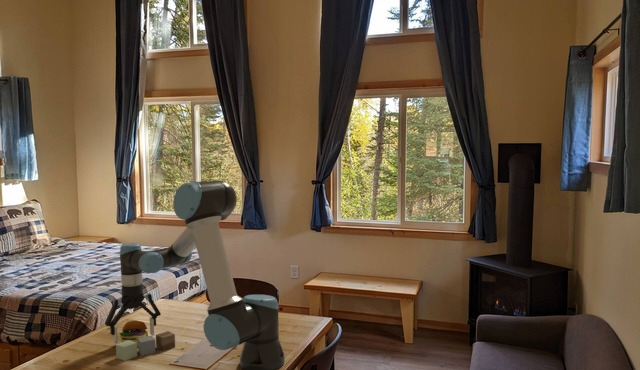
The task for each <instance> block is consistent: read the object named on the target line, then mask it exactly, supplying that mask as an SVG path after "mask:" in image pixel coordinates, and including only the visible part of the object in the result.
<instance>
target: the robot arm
mask: <svg viewBox="0 0 640 370" xmlns="http://www.w3.org/2000/svg"><path fill="white" fill-rule="evenodd" d="M237 201H238V198H237V192H236V190H235V188H234V187H233V186H232V185H231V184H229V182H228V183H227V182H226V181H223V180H211V181H210V180H209V181H208V180H204V181H191V182H186V183H185V182H184V183H183V184H181V185H179V187H178V188H177V189H176V191H175V193H174V197H173V200H172V206H173V211H174V213H175V215H176V217H177V218H178V219H180V220H183V221H184V223H185V226H186V227H185V229H184V230H183V232H182V233H181V234H180V235H179V236H178V237H177V238H176V239H175V241H174V242H173V243H172V244H171V245H170V246H168V247H163V248H157V249H151V250H147V251H146V250H142V247H141V246H142V245H141V244H140V243H137V242H136V243H135V242H134V243H133V242H132V243H131V242H130V243H124V244H122V245H121V246H120V248H119V250H120V251H119V253H120V254H119V261H120V277H121V282H120V283H121V298H120V299H116V298H113V300H112V305H111V308H110V310H109V312H108V315H107V317H106V320H105V321H104V325H105V326H106V327H110V329H109V330H110V335H111V336H113V343H114V344H115V345H116V344H119V341H118V339H119V338H118V326H117V324H118V322H119V321H120V319H121V318H122V317H123V315H124V314H125V312H127V310H132V309H138V308H139V307H140V308H142V309H143V310H144V311H145V312H146V313H147V314H148V315H149V316H150V317H149V334H150V336H151V335H152V336H155V327H156V326H157V319H158V317H159V316H161V310H159V308H158V306H157V305H156V303H155V302H154V299H153V297H152V296H153V295H152V294H151V293H150V292H147V293H146V294H144V290H143V289H144V288H143V287H144V286H143V273H146V274H156V273H158V272H159V271H161V270H162V269H166V268H171V267H172V268H173V267H176V266H182V265H184V264H186V263H187V264H188V263H189V262H190V261H191V260H192V255H193V254H192V253H193V251H194V250H195V249H196V251H197V255H198V258H199V263H200V267H201V270H202V275H203V278H204V282H205V286H206V290H207V294H208V298H209V305H208V307H207V309H206V311H207V316H206V318H205V319H204V322H203V333H204V336H205V337H206V339H207V341H208V343H209V344H210V345H211V346H213V347H214V348H215V349H217V350H220V351H227V350H229V349H233V348H236V347H238V346H240V345H241V344H243V347H242V350H241V354H240V356H239V366H240V368H241V369H242V370H277V369H280V368H282V367H283V366H284V365H285V361H286V360H285V353H284V350H283V347H282V344H281V341H280V337H279V336H280V332H279V329H280V328H279V326H280V325H279V323H280V322H279V304H278V300H277V298H276V296H272V295H267V294H248V295H244V296H243V297H241V296H239V295H238V293H237V290H236V289H237V288H236V286H235V281H234V279H233V275H232V271H231V267H230V262H229V259H228V255H227V251H226V248H225V244H224V240H223V237H222V236H223V235H222V233H221V229H220V225H219V224H220V222H221V221H225V220H226V219H228V217H229V216H230V215H231V214H233V212H234V210H235V208H236V206H237ZM144 300H147V301H148V303H149V305H150V306H151V309H153V311H154V312H153V311H151V309H149V307H147V306H146V305H145V304H144V303H143V302H144ZM120 304H122V306H121V307H120V309H119V311H118V312H117V313H116V311H117V309H118V306H120ZM115 313H116V314H115Z"/></svg>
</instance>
